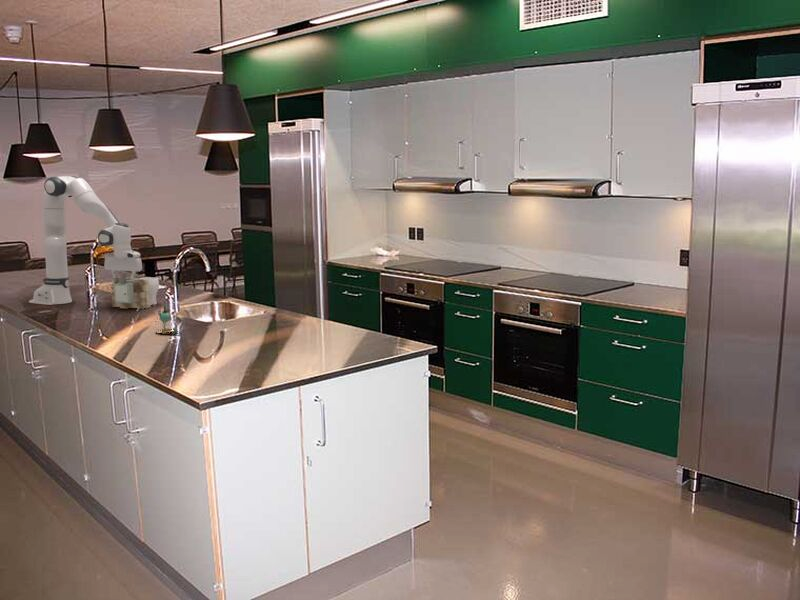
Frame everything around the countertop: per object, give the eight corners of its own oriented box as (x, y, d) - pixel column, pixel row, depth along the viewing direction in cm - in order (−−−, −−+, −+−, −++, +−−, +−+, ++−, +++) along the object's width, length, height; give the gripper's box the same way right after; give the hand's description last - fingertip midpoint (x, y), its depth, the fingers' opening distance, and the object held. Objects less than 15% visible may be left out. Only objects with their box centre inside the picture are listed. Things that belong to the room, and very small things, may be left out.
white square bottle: (114, 302, 408) (112, 275, 405) (122, 299, 417) (121, 272, 413) (128, 303, 407) (126, 276, 404) (136, 299, 416) (134, 273, 412)
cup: (162, 303, 432) (161, 277, 430) (154, 306, 422) (154, 280, 419) (144, 302, 433) (144, 276, 431) (136, 305, 423) (135, 279, 420)
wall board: (110, 307, 416) (109, 278, 413) (116, 305, 423) (115, 277, 420) (144, 309, 413) (143, 280, 410) (150, 307, 420) (150, 278, 417)
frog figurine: (165, 338, 348) (162, 306, 346) (149, 335, 361) (146, 304, 360) (184, 335, 354) (181, 304, 353) (168, 332, 368) (165, 302, 366)
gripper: (101, 253, 404) (102, 278, 407) (137, 255, 402) (138, 280, 404) (107, 252, 410) (108, 277, 413) (143, 253, 408) (143, 279, 410)
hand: (123, 279), depth 408 cm, fingers open, 8 cm apart
